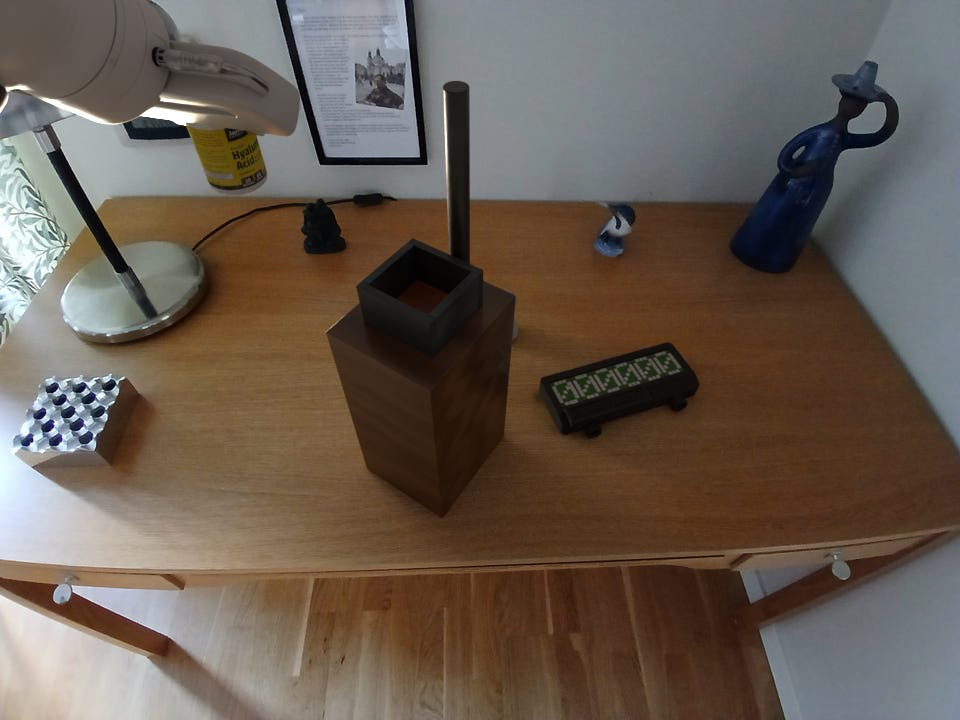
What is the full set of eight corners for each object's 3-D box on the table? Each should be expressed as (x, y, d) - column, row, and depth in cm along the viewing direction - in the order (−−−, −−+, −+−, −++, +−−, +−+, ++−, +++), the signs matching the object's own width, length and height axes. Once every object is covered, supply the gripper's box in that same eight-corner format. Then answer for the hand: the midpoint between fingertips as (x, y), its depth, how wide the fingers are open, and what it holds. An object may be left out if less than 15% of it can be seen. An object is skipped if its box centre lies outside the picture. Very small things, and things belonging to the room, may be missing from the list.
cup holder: (442, 518, 67) (411, 197, 32) (366, 468, 71) (266, 136, 36) (504, 435, 75) (532, 103, 40) (432, 395, 79) (401, 61, 44)
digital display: (569, 433, 71) (538, 376, 77) (566, 446, 74) (536, 390, 80) (711, 389, 76) (671, 339, 82) (703, 403, 78) (665, 353, 84)
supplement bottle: (251, 201, 51) (214, 94, 44) (199, 192, 52) (153, 85, 45) (279, 170, 55) (249, 66, 47) (229, 163, 56) (192, 59, 48)
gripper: (245, 11, 34) (338, 99, 48) (-34, -20, 37) (128, 72, 51) (232, 116, 35) (327, 173, 48) (-42, 78, 38) (120, 142, 51)
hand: (223, 121), depth 50 cm, fingers closed on supplement bottle, 5 cm apart
